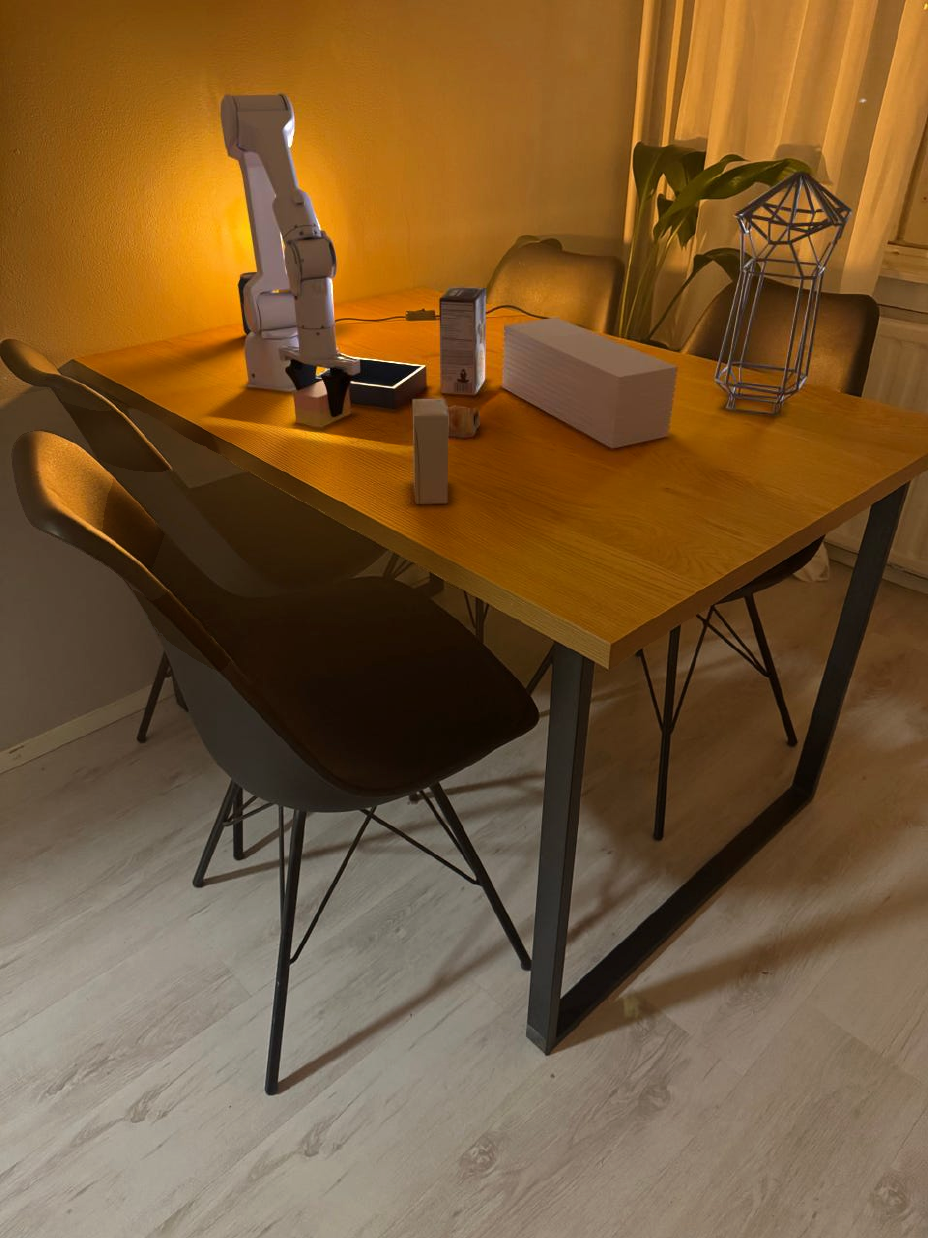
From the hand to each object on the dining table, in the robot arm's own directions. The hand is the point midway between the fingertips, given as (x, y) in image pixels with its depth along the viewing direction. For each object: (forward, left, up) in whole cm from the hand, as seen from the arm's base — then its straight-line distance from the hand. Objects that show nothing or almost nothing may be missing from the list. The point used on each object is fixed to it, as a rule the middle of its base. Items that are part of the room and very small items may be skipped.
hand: (323, 411), depth 139 cm
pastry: (+21, +3, -2) cm, 21 cm away
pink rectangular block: (0, 0, -1) cm, 1 cm away
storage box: (+1, +14, -1) cm, 14 cm away
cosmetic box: (+27, -20, -2) cm, 34 cm away
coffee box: (+15, +23, -2) cm, 27 cm away
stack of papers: (+37, +19, -1) cm, 42 cm away
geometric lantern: (+64, +32, -2) cm, 72 cm away
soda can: (-36, +39, -2) cm, 53 cm away
